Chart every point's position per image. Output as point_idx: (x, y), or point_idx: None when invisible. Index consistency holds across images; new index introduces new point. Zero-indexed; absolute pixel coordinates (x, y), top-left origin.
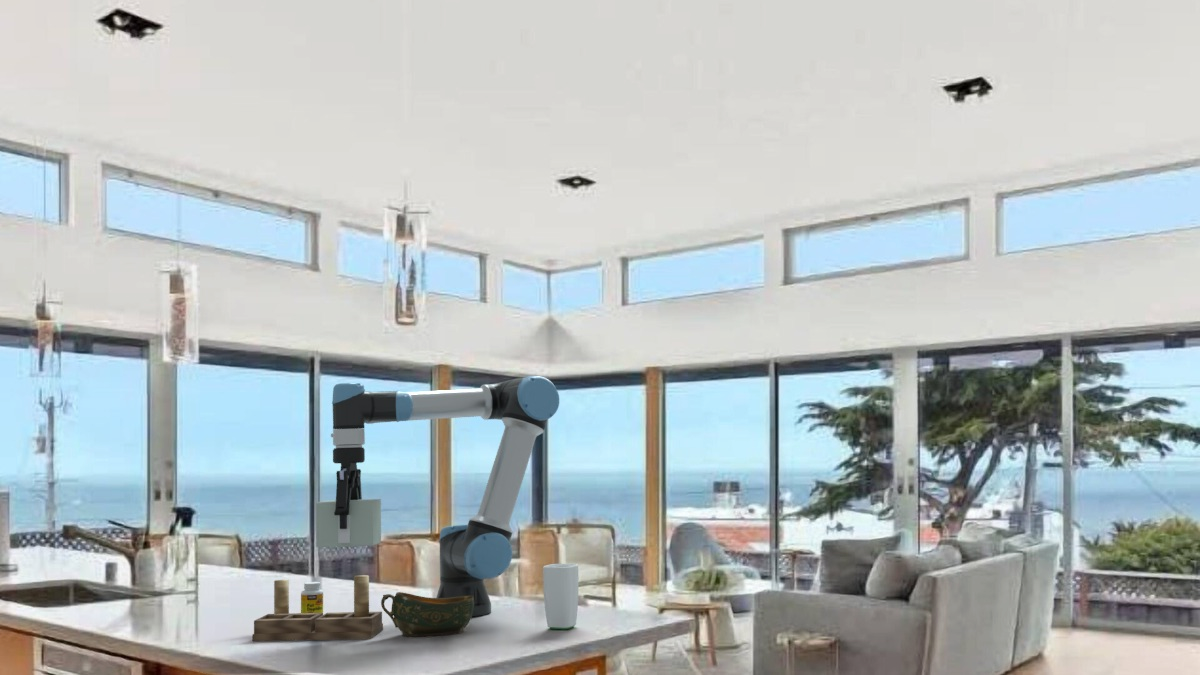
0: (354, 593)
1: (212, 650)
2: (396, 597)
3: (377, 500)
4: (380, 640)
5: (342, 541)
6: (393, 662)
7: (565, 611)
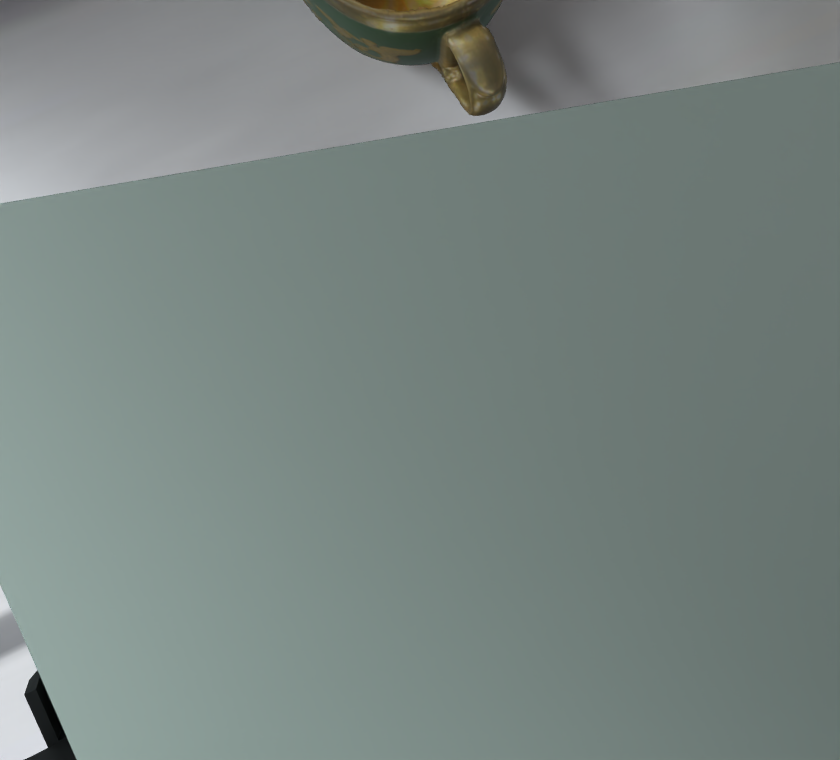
0: None
1: None
2: (489, 2)
3: (485, 125)
4: (531, 103)
5: None
6: None
7: None
